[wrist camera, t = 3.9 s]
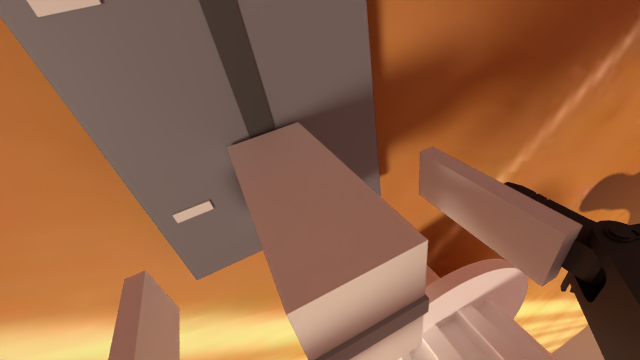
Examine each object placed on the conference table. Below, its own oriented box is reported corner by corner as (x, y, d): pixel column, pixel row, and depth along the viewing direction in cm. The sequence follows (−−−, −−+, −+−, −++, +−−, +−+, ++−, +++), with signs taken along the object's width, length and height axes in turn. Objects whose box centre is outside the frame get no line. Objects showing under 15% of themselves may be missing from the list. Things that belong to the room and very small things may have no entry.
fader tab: (261, 229, 18) (330, 408, 10) (225, 147, 14) (286, 321, 6) (319, 204, 19) (425, 347, 11) (298, 121, 15) (433, 242, 7)
